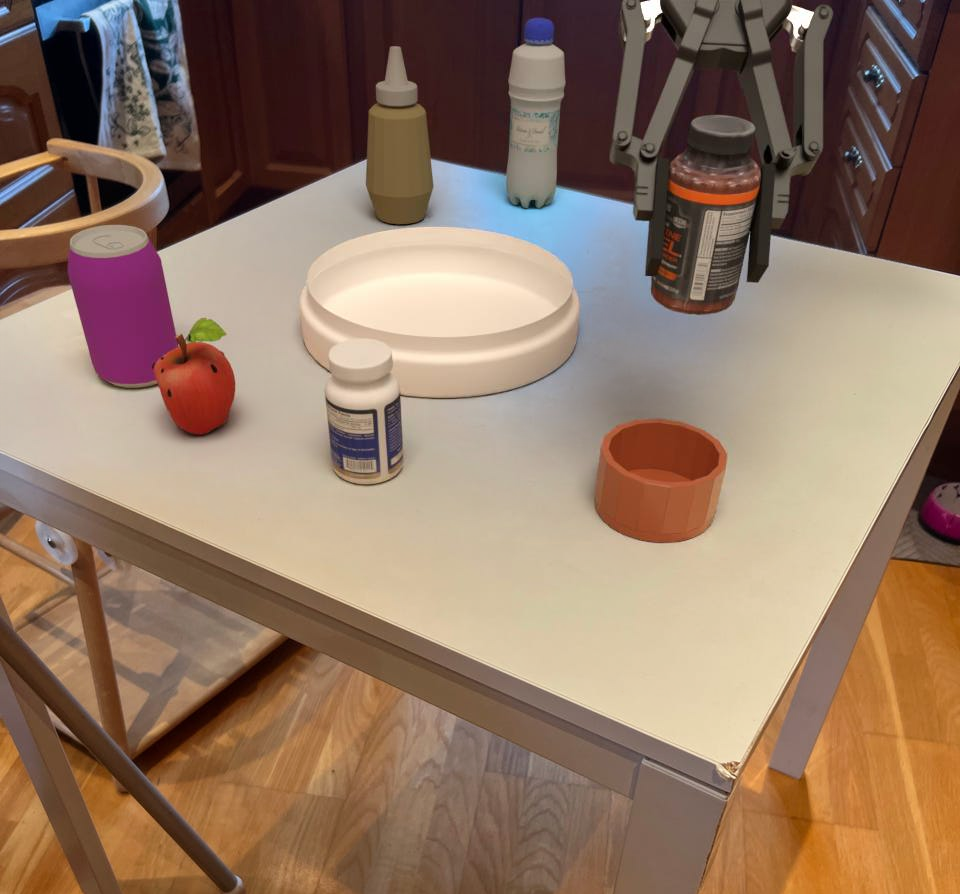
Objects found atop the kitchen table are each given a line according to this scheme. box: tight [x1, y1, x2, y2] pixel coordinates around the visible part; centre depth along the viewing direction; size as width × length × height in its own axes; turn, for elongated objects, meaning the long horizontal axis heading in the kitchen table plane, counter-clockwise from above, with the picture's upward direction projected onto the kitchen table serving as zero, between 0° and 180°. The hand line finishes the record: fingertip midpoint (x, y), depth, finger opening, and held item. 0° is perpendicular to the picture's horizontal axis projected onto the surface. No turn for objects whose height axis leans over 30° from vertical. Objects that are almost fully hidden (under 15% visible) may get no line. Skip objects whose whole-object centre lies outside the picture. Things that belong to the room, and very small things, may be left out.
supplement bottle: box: [650, 114, 761, 316], centre depth 64 cm, size 6×6×11 cm
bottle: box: [505, 17, 567, 209], centre depth 116 cm, size 7×7×20 cm
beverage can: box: [67, 224, 179, 389], centre depth 84 cm, size 8×8×12 cm
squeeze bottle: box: [365, 45, 435, 225], centre depth 112 cm, size 8×8×18 cm
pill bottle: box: [324, 338, 404, 485], centre depth 75 cm, size 6×6×10 cm
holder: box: [594, 418, 728, 544], centre depth 73 cm, size 9×9×5 cm
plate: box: [299, 226, 581, 399], centre depth 94 cm, size 27×27×6 cm
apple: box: [152, 317, 236, 436], centre depth 78 cm, size 8×7×10 cm
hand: (705, 270), depth 63 cm, fingers closed on supplement bottle, 6 cm apart
